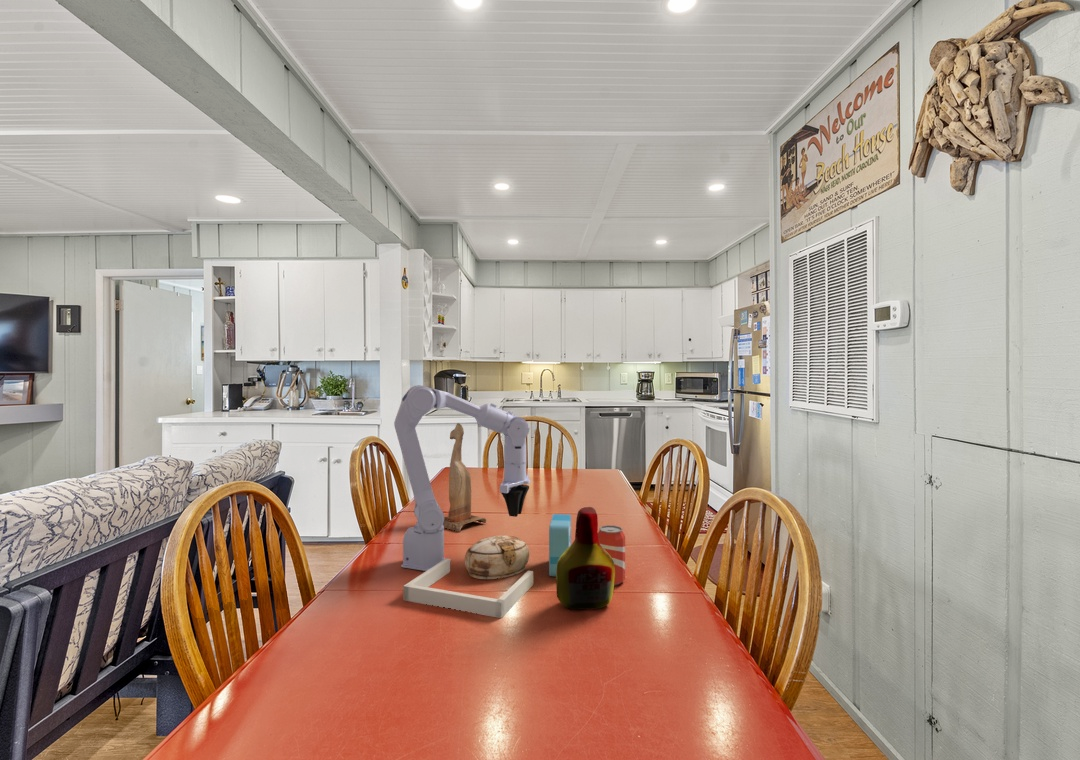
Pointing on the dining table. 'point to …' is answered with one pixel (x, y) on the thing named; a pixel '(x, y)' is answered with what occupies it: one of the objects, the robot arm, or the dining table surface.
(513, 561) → the trinket box
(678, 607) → the dining table surface
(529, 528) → the dining table surface
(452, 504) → the bird sculpture
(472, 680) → the dining table surface
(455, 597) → the display bay
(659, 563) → the dining table surface
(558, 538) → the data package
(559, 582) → the bottle
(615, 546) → the beverage can
